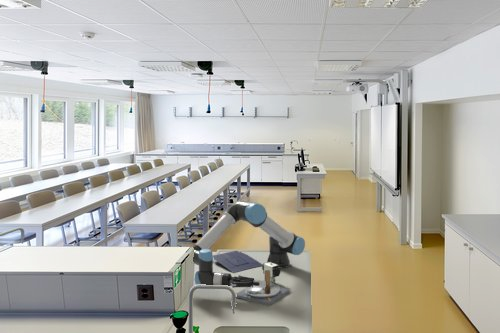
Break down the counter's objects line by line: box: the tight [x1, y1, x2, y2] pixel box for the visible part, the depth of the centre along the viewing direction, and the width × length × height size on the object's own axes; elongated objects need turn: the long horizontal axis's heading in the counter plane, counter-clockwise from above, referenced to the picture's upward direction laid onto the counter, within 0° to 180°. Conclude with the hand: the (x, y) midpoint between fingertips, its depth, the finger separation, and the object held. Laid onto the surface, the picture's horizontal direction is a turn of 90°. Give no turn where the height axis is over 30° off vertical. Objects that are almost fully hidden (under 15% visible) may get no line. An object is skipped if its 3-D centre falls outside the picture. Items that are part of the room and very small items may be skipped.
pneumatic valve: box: [261, 261, 281, 284], centre depth 257 cm, size 6×12×12 cm, turn 37°
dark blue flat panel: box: [212, 250, 263, 274], centre depth 294 cm, size 24×30×4 cm
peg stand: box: [244, 270, 281, 298], centre depth 238 cm, size 19×19×14 cm
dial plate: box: [235, 286, 291, 306], centre depth 239 cm, size 22×22×2 cm
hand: (265, 283), depth 229 cm, fingers closed
